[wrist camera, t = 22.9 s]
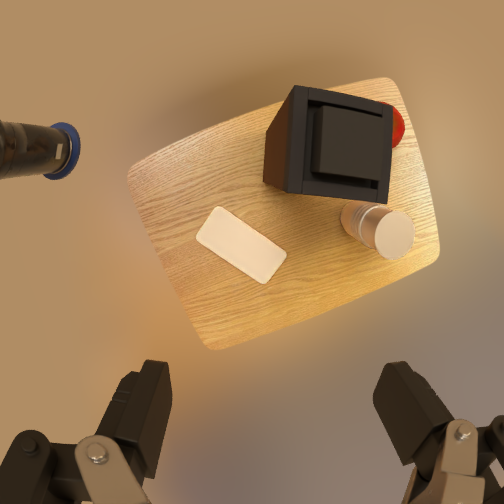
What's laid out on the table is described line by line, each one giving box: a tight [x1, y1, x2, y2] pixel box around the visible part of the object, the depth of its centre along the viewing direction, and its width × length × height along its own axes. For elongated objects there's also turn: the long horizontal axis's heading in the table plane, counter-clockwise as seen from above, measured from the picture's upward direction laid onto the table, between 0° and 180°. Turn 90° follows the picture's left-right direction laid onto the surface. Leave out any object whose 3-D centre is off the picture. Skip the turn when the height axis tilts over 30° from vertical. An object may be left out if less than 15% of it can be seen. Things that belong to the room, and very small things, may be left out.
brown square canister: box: [263, 85, 393, 204], centre depth 32 cm, size 9×9×26 cm
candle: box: [340, 200, 415, 260], centre depth 41 cm, size 7×7×15 cm
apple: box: [377, 101, 405, 148], centre depth 39 cm, size 9×8×11 cm
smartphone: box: [196, 206, 287, 284], centre depth 49 cm, size 7×1×15 cm
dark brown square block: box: [310, 106, 384, 181], centre depth 20 cm, size 5×5×3 cm
